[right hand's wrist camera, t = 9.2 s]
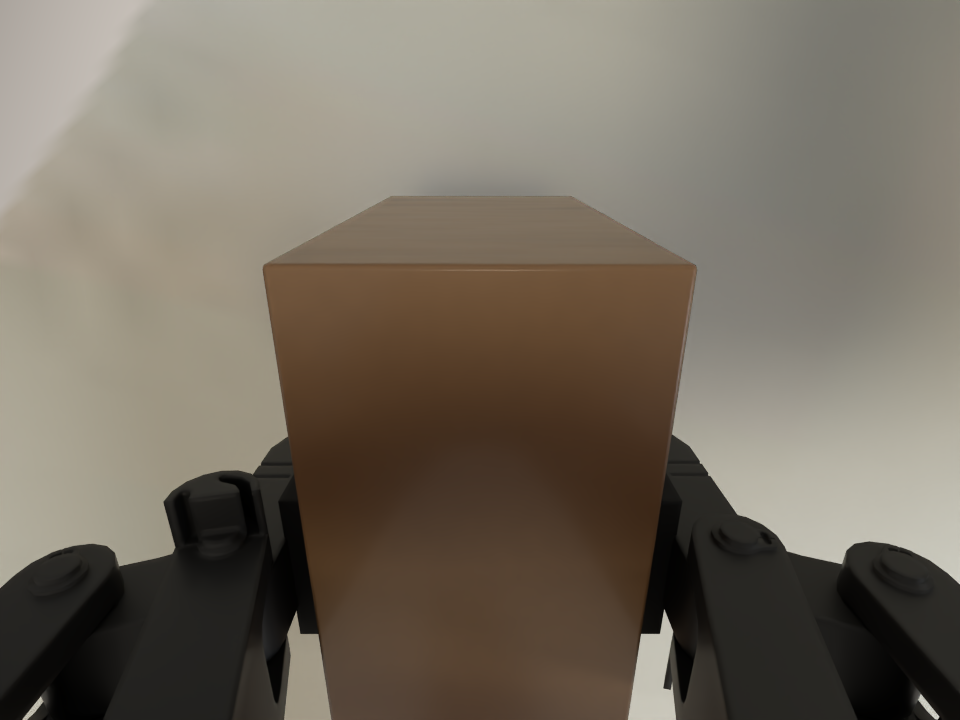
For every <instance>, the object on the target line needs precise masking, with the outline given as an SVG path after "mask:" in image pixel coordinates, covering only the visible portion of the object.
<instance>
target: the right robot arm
mask: <svg viewBox="0 0 960 720" xmlns="http://www.w3.org/2000/svg"><path fill="white" fill-rule="evenodd" d="M164 506H165V510H166V513H167V517H168V521H169V525H170V528H171V532H172V536H173V540H174V543H175V550H174V552H173V554H171V555H167V556H164V557H160V558H156V559H152V560H147V561H142V562H138V563H133V564H128V565H124V566H119V565H118V562H117V558H116V555H115V553H114V552H113V551H112V550H111V549H110V548H108V547H107V546H103V545H97V544H86V545H78V546H72V547H69V548H64V549H62V550H58V551H55V552H53V553H50V554H49V555H47V556H45V557H43V558H41V559H39V560H37V561H35V562H33V563H31V564H29V565H28V566H27V567H25V568H24V569H23V570H21V571H20V572H19V573H17V574H16V575H15V576H13V577H12V578H11V579H10V580H9V581H8V582H7V583H6V584H5V585H3V586H2V587H1V588H0V720H22V719H23V718H24V716H25V715H26V714H27V713H28V711H29V710H30V709H31V708H32V706H33V705H34V704H35V703H36V701H37V700H38V699H39V698H40V696H41V697H42V700H43V703H42V704H41V706H40V707H39V708H38V709H37V711H36V712H35V713H34V714H33V715H32V716H31V717H30V718H29V719H28V720H284V714H285V704H286V694H287V685H288V675H289V666H290V656H291V655H290V648H289V642H288V637H287V633H288V631H289V628H290V626H291V623H292V620H293V618H294V615H295V613H296V610H297V616H298V622H299V627H300V633H301V634H318V628H317V621H316V614H315V608H314V601H313V595H312V588H311V582H310V575H309V569H308V562H307V556H306V549H305V543H304V536H303V529H302V523H301V516H300V510H299V503H298V497H297V490H296V484H295V477H294V471H293V464H292V458H291V451H290V444H289V438H288V437H287V438H285V439H284V440H283V441H281V442H280V443H278V444H277V445H275V446H274V447H272V448H271V449H270V451H269V452H268V454H267V455H266V457H265V458H264V459H263V461H262V462H261V466H259V467H258V468H257V470H256V471H255V472H254V474H253V475H252V474H250V473H246V472H242V471H219V472H215V473H210V474H206V475H202V476H200V477H197V478H195V479H192V480H190V481H187V482H186V483H184V484H183V485H181V486H180V487H178V488H177V489H175V490H174V491H172V492H171V493H170V495H169V496H168V497H167V498H166V499H165V501H164ZM664 609H665V612H666V614H667V617H668V619H669V622H670V624H671V627H672V629H673V637H672V642H671V648H670V653H669V658H668V664H667V669H666V675H665V681H664V689H669V690H671V685H672V684H673V693H674V703H675V712H676V720H936V719H934V718H933V717H932V716H931V715H930V714H929V713H928V712H927V711H926V709H925V708H924V707H923V706H922V704H921V703H920V702H919V701H918V699H919V696H920V694H922V696H923V697H924V698H925V699H926V701H927V702H928V703H929V704H930V705H931V707H932V708H933V709H934V710H935V712H936V713H937V714H938V715H939V719H938V720H960V584H959V583H958V582H956V581H955V580H954V579H953V578H952V577H951V576H950V575H949V574H948V573H946V572H945V571H943V570H942V569H941V568H939V567H938V566H937V565H935V564H934V563H932V562H931V561H930V560H928V559H926V558H924V557H921V556H919V555H917V554H915V553H913V552H912V551H910V550H907V549H904V548H901V547H897V546H894V545H890V544H886V543H877V542H863V543H857V544H854V545H853V546H851V547H850V548H849V549H848V550H847V551H846V554H845V557H844V560H843V563H842V564H838V563H833V562H829V561H824V560H819V559H815V558H810V557H806V556H801V555H798V554H794V553H790V552H787V551H786V549H785V547H784V545H783V544H782V542H781V541H780V540H779V538H778V537H777V535H776V534H774V533H773V532H772V531H770V530H769V529H768V528H766V527H765V526H764V525H762V524H760V523H758V522H756V521H753V520H751V519H749V518H747V517H743V516H739V515H737V514H736V512H735V511H734V509H733V508H732V507H731V505H730V504H729V502H728V501H727V499H726V498H725V497H724V495H723V494H722V492H721V491H720V489H719V488H718V487H717V485H716V484H715V482H714V481H713V479H712V478H711V477H710V476H708V472H707V471H706V469H705V468H704V467H703V465H702V464H700V461H699V459H698V458H697V457H696V455H695V454H694V452H693V451H692V449H691V448H690V447H689V446H688V445H687V444H685V443H684V442H682V441H681V440H679V439H678V438H676V437H675V436H673V435H672V436H671V442H670V448H669V455H668V461H667V468H666V474H665V481H664V487H663V494H662V500H661V507H660V513H659V520H658V526H657V533H656V539H655V546H654V552H653V559H652V565H651V572H650V578H649V585H648V591H647V598H646V604H645V611H644V617H643V624H642V630H641V634H660V630H661V624H662V618H663V612H664Z"/></svg>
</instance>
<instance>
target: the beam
mask: <svg viewBox="0 0 960 720" xmlns="http://www.w3.org/2000/svg"><path fill="white" fill-rule="evenodd" d="M696 273H697V268H696V265H694V264H692V263H690V262H689V261H687V260H685V259H683V258H681V257H680V256H678V255H676V254H674V253H672V252H671V251H669V250H667V249H665V248H663V247H662V246H660V245H658V244H656V243H654V242H653V241H651V240H649V239H647V238H645V237H644V236H642V235H640V234H638V233H636V232H635V231H633V230H631V229H629V228H627V227H626V226H624V225H622V224H620V223H618V222H617V221H615V220H613V219H611V218H609V217H608V216H606V215H604V214H602V213H600V212H599V211H597V210H595V209H593V208H591V207H590V206H588V205H586V204H584V203H582V202H581V201H579V200H577V199H575V198H573V197H571V196H391V197H389V198H387V199H385V200H383V201H382V202H380V203H378V204H376V205H374V206H372V207H370V208H369V209H367V210H365V211H363V212H361V213H359V214H357V215H356V216H354V217H352V218H350V219H348V220H346V221H344V222H343V223H341V224H339V225H337V226H335V227H333V228H331V229H330V230H328V231H326V232H324V233H322V234H320V235H318V236H317V237H315V238H313V239H311V240H309V241H307V242H305V243H304V244H302V245H300V246H298V247H296V248H294V249H292V250H291V251H289V252H287V253H285V254H283V255H281V256H279V257H278V258H276V259H274V260H272V261H270V262H268V263H266V264H265V265H264V266H263V274H264V281H265V288H266V294H267V301H268V307H269V314H270V320H271V327H272V333H273V340H274V346H275V353H276V359H277V366H278V373H279V379H280V386H281V392H282V399H283V405H284V412H285V418H286V425H287V431H288V438H289V444H290V451H291V458H292V464H293V471H294V477H295V484H296V490H297V497H298V503H299V510H300V516H301V523H302V529H303V536H304V543H305V549H306V556H307V562H308V569H309V575H310V582H311V588H312V595H313V601H314V608H315V614H316V621H317V628H318V634H319V641H320V647H321V654H322V660H323V667H324V673H325V680H326V686H327V693H328V699H329V706H330V713H331V719H332V720H628V715H629V708H630V702H631V695H632V689H633V682H634V676H635V669H636V663H637V656H638V650H639V643H640V637H641V630H642V624H643V617H644V611H645V604H646V598H647V591H648V585H649V578H650V572H651V565H652V559H653V552H654V546H655V539H656V533H657V526H658V520H659V513H660V507H661V500H662V494H663V487H664V481H665V474H666V468H667V461H668V455H669V448H670V442H671V436H672V429H673V423H674V416H675V410H676V403H677V397H678V390H679V384H680V377H681V371H682V364H683V358H684V351H685V345H686V338H687V332H688V325H689V319H690V312H691V306H692V299H693V293H694V286H695V280H696Z"/></svg>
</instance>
